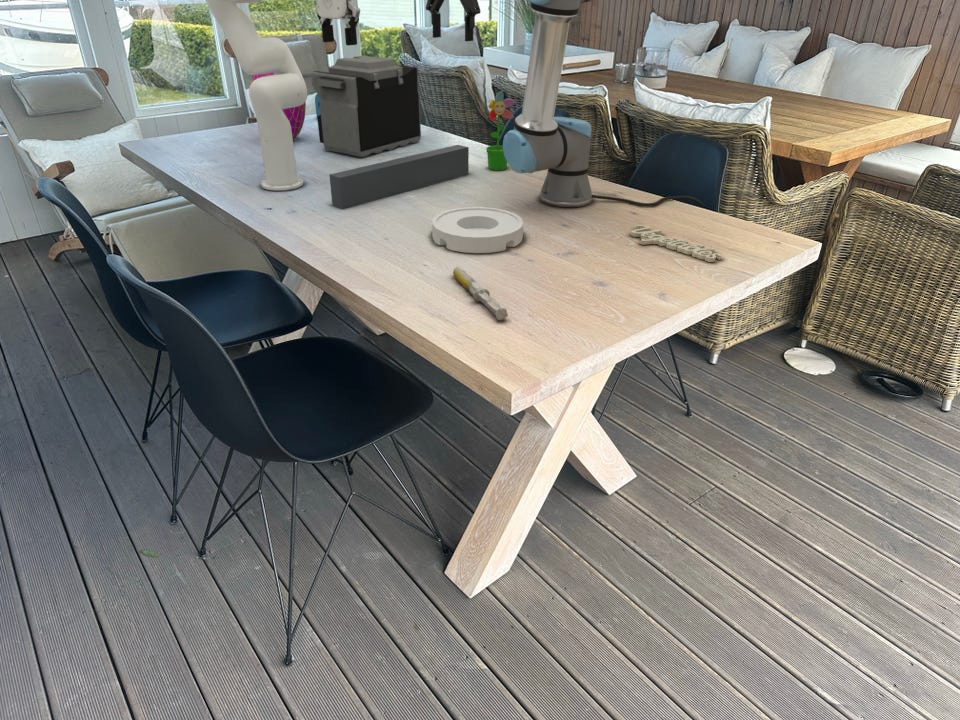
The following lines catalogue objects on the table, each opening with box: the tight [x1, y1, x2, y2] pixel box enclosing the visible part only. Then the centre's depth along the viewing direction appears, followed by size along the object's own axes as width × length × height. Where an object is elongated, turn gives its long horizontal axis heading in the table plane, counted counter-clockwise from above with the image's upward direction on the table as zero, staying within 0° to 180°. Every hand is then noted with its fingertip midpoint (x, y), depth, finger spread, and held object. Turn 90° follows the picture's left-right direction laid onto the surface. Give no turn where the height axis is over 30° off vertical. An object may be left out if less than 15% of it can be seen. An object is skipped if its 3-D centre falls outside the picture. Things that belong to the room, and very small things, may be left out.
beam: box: [329, 144, 470, 209], centre depth 210 cm, size 51×5×9 cm, turn 137°
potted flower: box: [486, 90, 517, 171], centre depth 227 cm, size 9×8×25 cm
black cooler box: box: [310, 55, 422, 159], centre depth 250 cm, size 37×22×30 cm, turn 144°
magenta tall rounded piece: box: [251, 73, 307, 139], centre depth 257 cm, size 19×19×30 cm
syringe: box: [452, 266, 509, 321], centre depth 145 cm, size 25×4×3 cm, turn 21°
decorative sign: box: [630, 224, 722, 263], centre depth 172 cm, size 26×1×10 cm
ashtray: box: [431, 206, 524, 254], centre depth 175 cm, size 23×23×4 cm
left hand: (339, 43), depth 177 cm, fingers open, 9 cm apart
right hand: (452, 39), depth 204 cm, fingers open, 13 cm apart
